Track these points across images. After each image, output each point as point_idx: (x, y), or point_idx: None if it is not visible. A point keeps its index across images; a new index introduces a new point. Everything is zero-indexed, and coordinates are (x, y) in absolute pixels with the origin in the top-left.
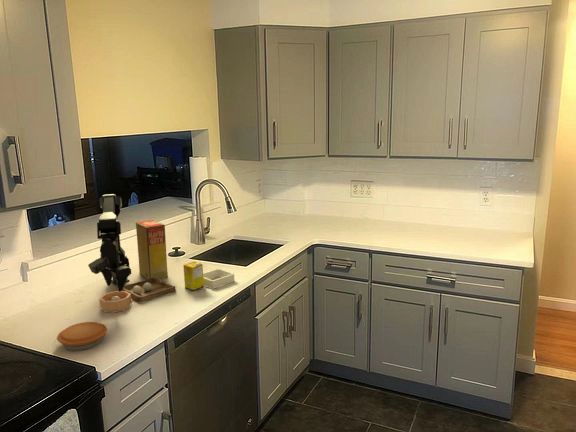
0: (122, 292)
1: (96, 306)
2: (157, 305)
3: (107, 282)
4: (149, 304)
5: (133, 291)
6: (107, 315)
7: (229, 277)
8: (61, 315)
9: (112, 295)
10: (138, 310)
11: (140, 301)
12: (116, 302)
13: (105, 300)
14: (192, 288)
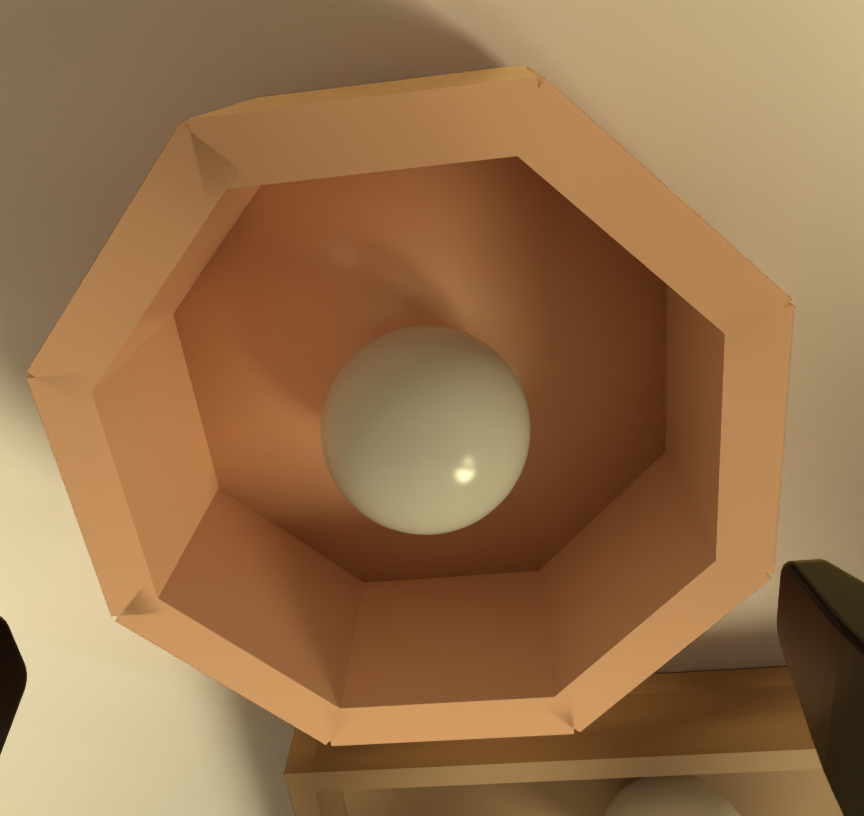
0: (575, 667)
1: (758, 53)
2: (80, 795)
3: (840, 652)
4: (181, 746)
5: (666, 801)
6: (96, 71)
7: None
8: None
9: (698, 472)
10: (35, 567)
11: None
12: (35, 362)
13: (279, 180)
14: None
